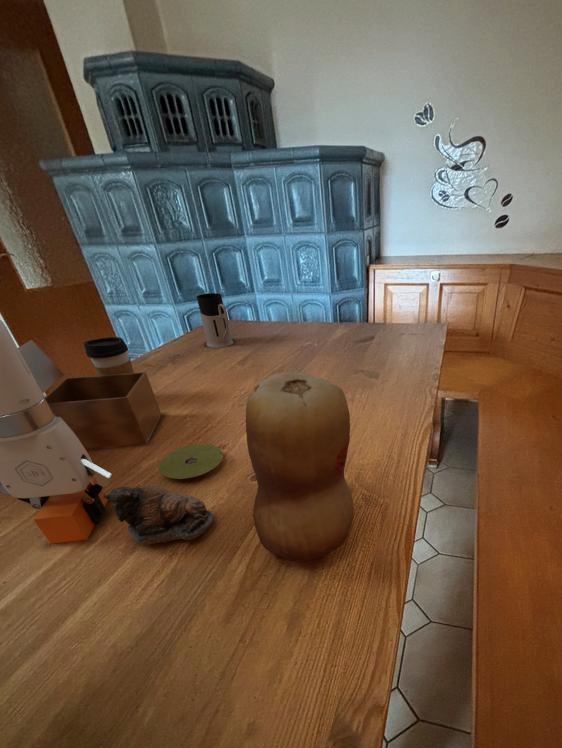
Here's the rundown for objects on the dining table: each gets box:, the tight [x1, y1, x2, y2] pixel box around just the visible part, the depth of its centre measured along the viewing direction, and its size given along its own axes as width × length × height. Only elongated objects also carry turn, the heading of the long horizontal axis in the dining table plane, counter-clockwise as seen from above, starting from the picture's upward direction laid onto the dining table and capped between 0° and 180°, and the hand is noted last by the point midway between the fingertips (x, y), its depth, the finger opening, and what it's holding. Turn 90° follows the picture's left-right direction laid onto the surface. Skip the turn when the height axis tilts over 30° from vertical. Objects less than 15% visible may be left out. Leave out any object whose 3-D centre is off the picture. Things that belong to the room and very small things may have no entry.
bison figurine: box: [103, 484, 214, 546], centre depth 55 cm, size 12×7×10 cm, turn 108°
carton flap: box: [17, 339, 65, 394], centre depth 72 cm, size 8×13×1 cm
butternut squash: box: [245, 371, 355, 562], centre depth 49 cm, size 14×13×25 cm
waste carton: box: [44, 371, 162, 451], centre depth 80 cm, size 16×13×10 cm
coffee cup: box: [83, 336, 135, 376], centre depth 90 cm, size 8×8×15 cm
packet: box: [33, 477, 108, 545], centre depth 59 cm, size 5×9×5 cm, turn 10°
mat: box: [158, 443, 224, 480], centre depth 71 cm, size 11×11×2 cm
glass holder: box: [196, 292, 234, 349], centre depth 123 cm, size 9×14×15 cm, turn 43°
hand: (79, 519), depth 60 cm, fingers closed on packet, 5 cm apart
